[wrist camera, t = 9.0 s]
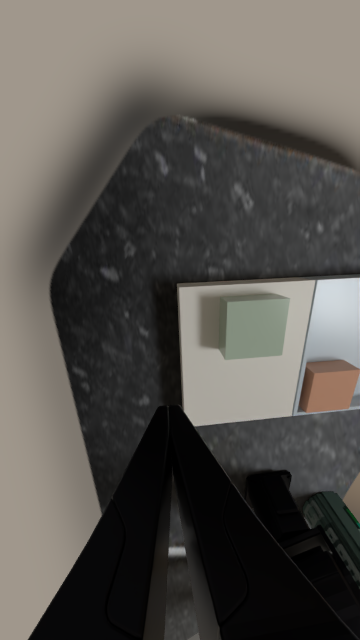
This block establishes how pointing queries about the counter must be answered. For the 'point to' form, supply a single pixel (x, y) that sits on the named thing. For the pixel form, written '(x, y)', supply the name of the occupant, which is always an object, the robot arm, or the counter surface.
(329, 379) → the tile terracotta
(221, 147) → the counter surface
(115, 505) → the robot arm
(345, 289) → the box
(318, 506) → the can
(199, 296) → the board
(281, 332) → the tile sage
